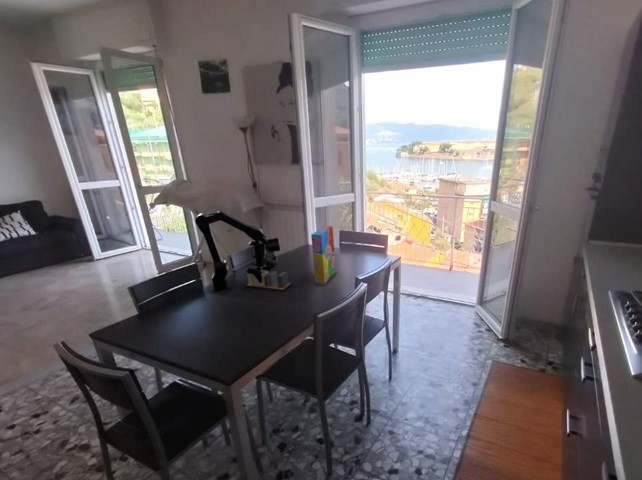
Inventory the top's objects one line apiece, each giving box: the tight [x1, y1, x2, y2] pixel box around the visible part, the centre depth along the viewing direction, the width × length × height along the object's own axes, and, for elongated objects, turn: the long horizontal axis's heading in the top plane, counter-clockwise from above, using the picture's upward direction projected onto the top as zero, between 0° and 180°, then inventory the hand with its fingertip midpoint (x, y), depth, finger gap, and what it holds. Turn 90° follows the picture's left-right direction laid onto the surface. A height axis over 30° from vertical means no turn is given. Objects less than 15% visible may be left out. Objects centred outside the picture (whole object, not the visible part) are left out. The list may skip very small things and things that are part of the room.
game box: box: [310, 225, 337, 286], centre depth 192 cm, size 21×6×27 cm, turn 168°
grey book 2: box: [277, 271, 290, 289], centre depth 185 cm, size 6×3×6 cm, turn 163°
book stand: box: [246, 276, 292, 290], centre depth 188 cm, size 9×22×6 cm, turn 73°
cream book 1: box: [246, 272, 254, 285], centre depth 190 cm, size 6×3×6 cm, turn 163°
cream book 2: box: [252, 269, 263, 285], centre depth 189 cm, size 6×3×6 cm, turn 163°
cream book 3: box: [259, 269, 269, 286], centre depth 188 cm, size 6×3×6 cm, turn 163°
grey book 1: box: [266, 270, 278, 287], centre depth 187 cm, size 6×3×6 cm, turn 163°
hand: (264, 280), depth 189 cm, fingers closed on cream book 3, 6 cm apart
